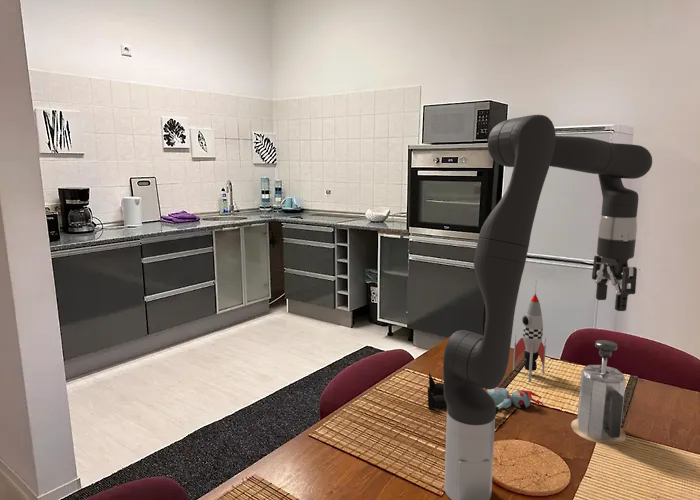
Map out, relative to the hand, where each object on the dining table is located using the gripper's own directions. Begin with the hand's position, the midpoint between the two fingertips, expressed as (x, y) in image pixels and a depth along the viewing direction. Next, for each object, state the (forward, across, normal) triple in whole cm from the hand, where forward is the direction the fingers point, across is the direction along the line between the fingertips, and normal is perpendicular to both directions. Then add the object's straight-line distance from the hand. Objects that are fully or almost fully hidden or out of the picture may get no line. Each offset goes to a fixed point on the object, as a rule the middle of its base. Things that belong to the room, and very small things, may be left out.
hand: (610, 304), depth 114 cm
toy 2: (+32, -33, -4) cm, 46 cm away
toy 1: (+33, -15, -24) cm, 43 cm away
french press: (+32, +1, 0) cm, 32 cm away
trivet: (+32, 0, 0) cm, 32 cm away
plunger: (+28, 0, 0) cm, 28 cm away
